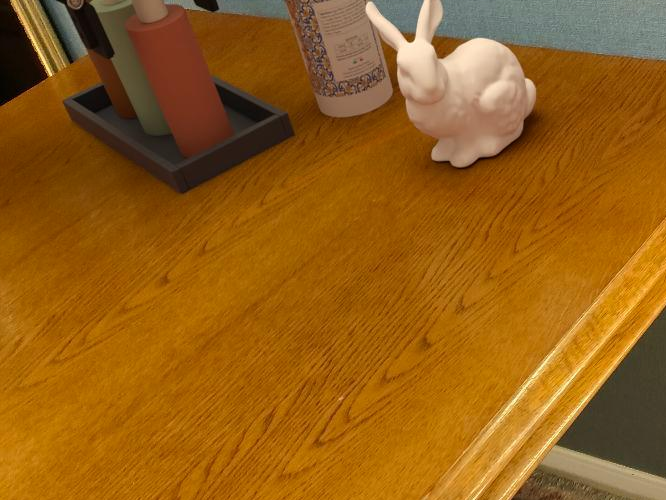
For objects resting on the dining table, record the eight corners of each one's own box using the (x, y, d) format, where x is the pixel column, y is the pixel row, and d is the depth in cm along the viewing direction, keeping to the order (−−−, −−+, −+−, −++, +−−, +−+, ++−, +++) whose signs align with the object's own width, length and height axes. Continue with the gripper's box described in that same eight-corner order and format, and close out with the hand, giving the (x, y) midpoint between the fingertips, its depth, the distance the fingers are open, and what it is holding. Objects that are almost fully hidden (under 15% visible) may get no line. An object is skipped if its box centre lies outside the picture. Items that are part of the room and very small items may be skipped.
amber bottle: (131, 124, 95) (61, -23, 85) (109, 110, 98) (39, -33, 88) (176, 102, 97) (113, -44, 87) (154, 89, 99) (90, -54, 90)
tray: (185, 202, 85) (171, 171, 83) (75, 128, 98) (61, 100, 96) (298, 142, 89) (287, 112, 87) (178, 79, 102) (166, 51, 100)
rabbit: (446, 187, 80) (409, 33, 71) (384, 152, 85) (342, 4, 76) (562, 124, 84) (540, -30, 75) (495, 94, 89) (468, -53, 80)
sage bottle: (159, 141, 91) (89, -9, 82) (135, 127, 94) (66, -20, 85) (205, 118, 93) (143, -32, 83) (181, 104, 96) (118, -42, 86)
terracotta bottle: (197, 165, 87) (129, 9, 77) (171, 149, 90) (102, -3, 80) (245, 140, 89) (184, -15, 79) (218, 125, 92) (157, -27, 82)
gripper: (138, -262, 74) (225, -17, 87) (-85, -190, 68) (43, 62, 81) (184, -257, 70) (268, 0, 83) (-50, -180, 64) (80, 85, 77)
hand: (157, 30), depth 82 cm, fingers open, 9 cm apart
